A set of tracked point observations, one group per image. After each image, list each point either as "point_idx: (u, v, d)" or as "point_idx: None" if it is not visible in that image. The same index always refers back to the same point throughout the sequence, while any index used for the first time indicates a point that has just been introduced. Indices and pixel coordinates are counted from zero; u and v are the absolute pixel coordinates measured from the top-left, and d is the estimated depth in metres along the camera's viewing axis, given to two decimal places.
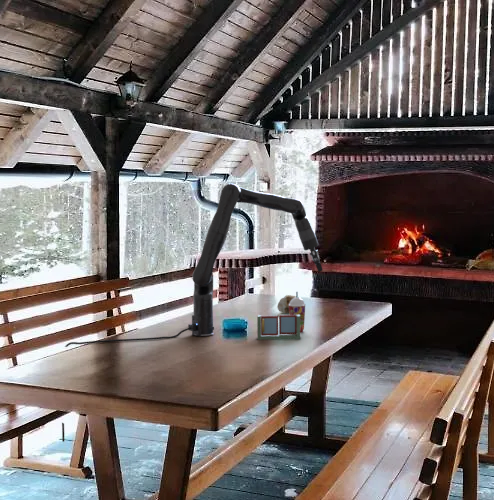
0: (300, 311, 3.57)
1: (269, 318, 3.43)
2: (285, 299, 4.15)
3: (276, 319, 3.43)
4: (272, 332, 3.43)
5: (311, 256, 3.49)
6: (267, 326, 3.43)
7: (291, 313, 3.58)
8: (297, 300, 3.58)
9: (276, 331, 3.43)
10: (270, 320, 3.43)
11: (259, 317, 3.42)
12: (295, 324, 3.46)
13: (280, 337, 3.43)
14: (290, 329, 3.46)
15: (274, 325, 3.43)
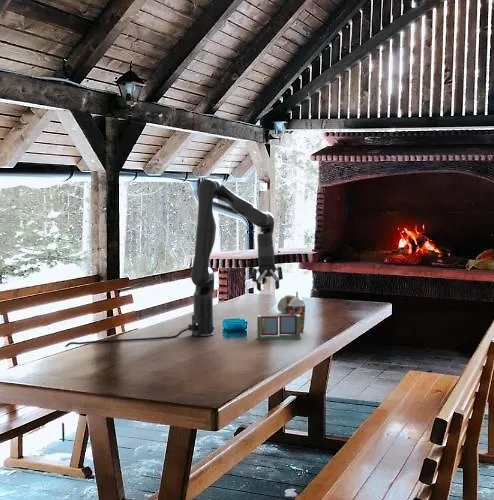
0: (300, 311, 3.57)
1: (269, 318, 3.43)
2: (285, 299, 4.15)
3: (276, 319, 3.43)
4: (272, 332, 3.43)
5: (260, 273, 3.39)
6: (267, 326, 3.43)
7: (291, 313, 3.58)
8: (297, 300, 3.58)
9: (276, 331, 3.43)
10: (270, 320, 3.43)
11: (259, 317, 3.42)
12: (295, 324, 3.46)
13: (280, 337, 3.43)
14: (290, 329, 3.46)
15: (274, 325, 3.43)
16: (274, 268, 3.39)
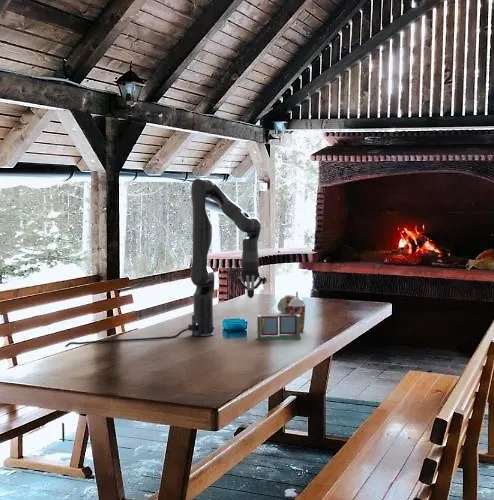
0: (300, 311, 3.57)
1: (269, 318, 3.43)
2: (285, 299, 4.15)
3: (276, 319, 3.43)
4: (272, 332, 3.43)
5: None
6: (267, 326, 3.43)
7: (291, 313, 3.58)
8: (297, 300, 3.58)
9: (276, 331, 3.43)
10: (270, 320, 3.43)
11: (259, 317, 3.42)
12: (295, 324, 3.46)
13: (280, 337, 3.43)
14: (290, 329, 3.46)
15: (274, 325, 3.43)
16: (257, 274, 3.37)
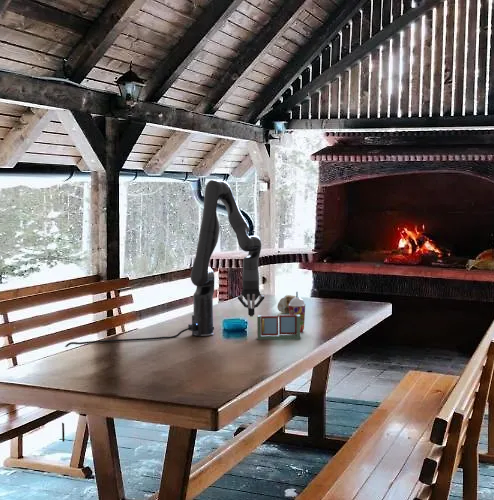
0: (300, 311, 3.57)
1: (269, 318, 3.43)
2: (285, 299, 4.15)
3: (276, 319, 3.43)
4: (272, 332, 3.43)
5: None
6: (267, 326, 3.43)
7: (291, 313, 3.58)
8: (297, 300, 3.58)
9: (276, 331, 3.43)
10: (270, 320, 3.43)
11: (259, 317, 3.42)
12: (295, 324, 3.46)
13: (280, 337, 3.43)
14: (290, 329, 3.46)
15: (274, 325, 3.43)
16: (258, 293, 3.38)
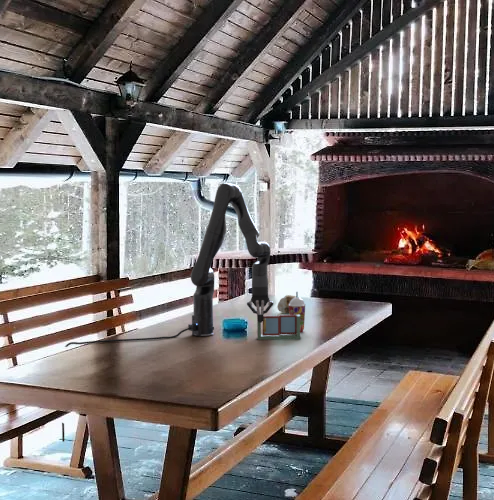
0: (300, 311, 3.57)
1: (271, 318, 3.43)
2: (285, 299, 4.15)
3: (278, 319, 3.43)
4: (273, 332, 3.43)
5: None
6: (269, 326, 3.43)
7: (291, 313, 3.58)
8: (297, 300, 3.58)
9: (278, 331, 3.43)
10: (271, 320, 3.43)
11: None
12: (295, 324, 3.46)
13: (280, 337, 3.43)
14: (290, 329, 3.46)
15: (276, 325, 3.43)
16: (267, 299, 3.38)
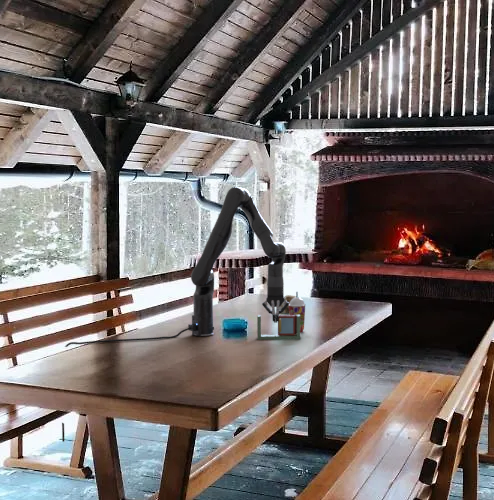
0: (300, 311, 3.57)
1: (286, 318, 3.43)
2: (285, 299, 4.15)
3: (293, 319, 3.43)
4: (288, 332, 3.44)
5: None
6: (284, 326, 3.43)
7: (291, 313, 3.58)
8: (297, 300, 3.58)
9: (293, 331, 3.44)
10: (287, 320, 3.43)
11: (259, 317, 3.42)
12: (295, 324, 3.46)
13: (280, 337, 3.43)
14: None
15: (291, 325, 3.43)
16: (282, 299, 3.38)
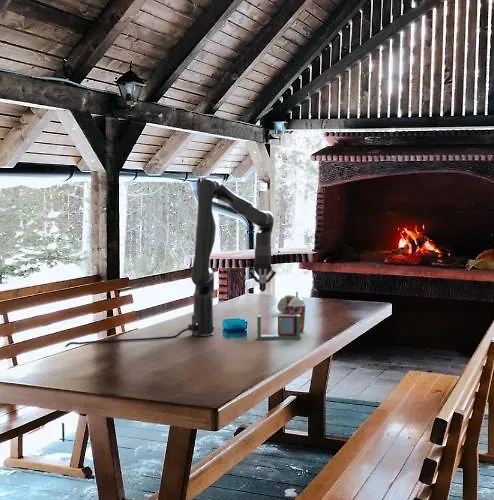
0: (300, 311, 3.57)
1: (286, 318, 3.43)
2: (285, 299, 4.15)
3: (293, 319, 3.43)
4: (288, 332, 3.44)
5: None
6: (284, 326, 3.43)
7: (291, 313, 3.58)
8: (297, 300, 3.58)
9: (293, 331, 3.44)
10: (287, 320, 3.43)
11: (259, 317, 3.42)
12: (295, 324, 3.46)
13: (280, 337, 3.43)
14: None
15: (291, 325, 3.43)
16: (269, 268, 3.39)
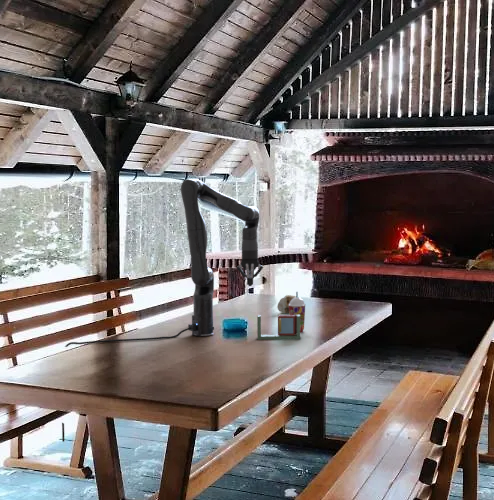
0: (300, 311, 3.57)
1: (286, 318, 3.43)
2: (285, 299, 4.15)
3: (293, 319, 3.43)
4: (288, 332, 3.44)
5: None
6: (284, 326, 3.43)
7: (291, 313, 3.58)
8: (297, 300, 3.58)
9: (293, 331, 3.44)
10: (287, 320, 3.43)
11: (259, 317, 3.42)
12: (295, 324, 3.46)
13: (280, 337, 3.43)
14: None
15: (291, 325, 3.43)
16: (256, 263, 3.42)
